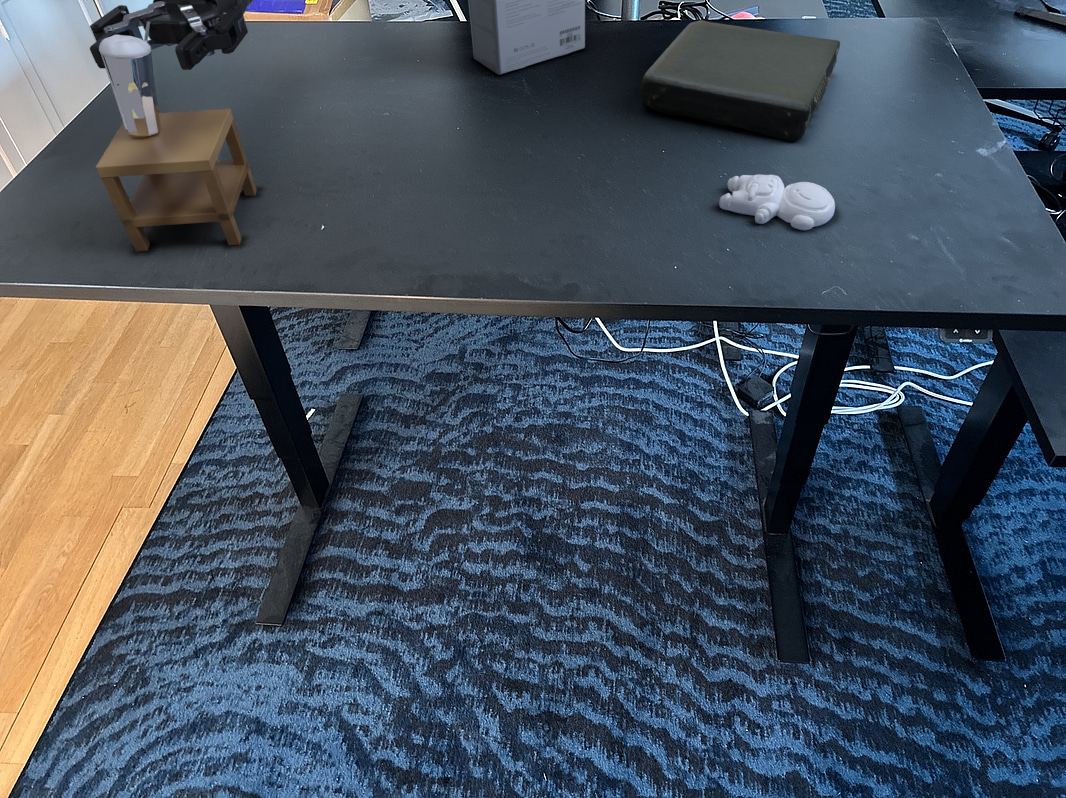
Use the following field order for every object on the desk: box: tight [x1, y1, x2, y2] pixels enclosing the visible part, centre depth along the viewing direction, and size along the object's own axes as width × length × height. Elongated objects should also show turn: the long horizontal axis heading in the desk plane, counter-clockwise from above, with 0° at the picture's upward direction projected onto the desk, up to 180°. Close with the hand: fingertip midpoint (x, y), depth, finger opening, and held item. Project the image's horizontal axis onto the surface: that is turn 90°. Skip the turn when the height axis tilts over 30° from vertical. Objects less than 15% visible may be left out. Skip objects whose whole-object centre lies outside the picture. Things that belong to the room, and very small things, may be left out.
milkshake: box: [99, 21, 161, 136], centre depth 77 cm, size 4×5×10 cm
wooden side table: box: [95, 108, 257, 253], centre depth 83 cm, size 11×11×10 cm
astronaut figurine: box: [718, 173, 836, 231], centre depth 84 cm, size 9×12×3 cm
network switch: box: [640, 19, 841, 142], centre depth 102 cm, size 23×23×5 cm
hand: (139, 59), depth 74 cm, fingers open, 8 cm apart
